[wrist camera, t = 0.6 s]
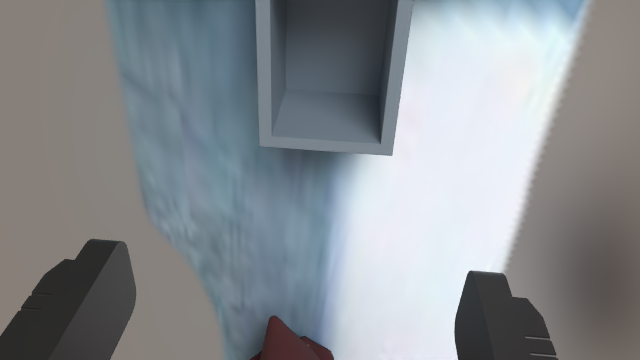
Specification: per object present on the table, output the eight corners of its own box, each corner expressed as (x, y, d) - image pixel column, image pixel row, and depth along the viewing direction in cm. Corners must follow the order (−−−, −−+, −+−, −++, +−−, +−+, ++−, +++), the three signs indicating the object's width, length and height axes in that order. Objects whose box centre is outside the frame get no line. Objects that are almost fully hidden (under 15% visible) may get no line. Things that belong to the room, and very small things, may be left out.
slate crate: (275, -56, 26) (254, -28, 21) (406, -48, 26) (416, -18, 21) (276, 93, 30) (259, 146, 25) (387, 101, 30) (392, 155, 25)
